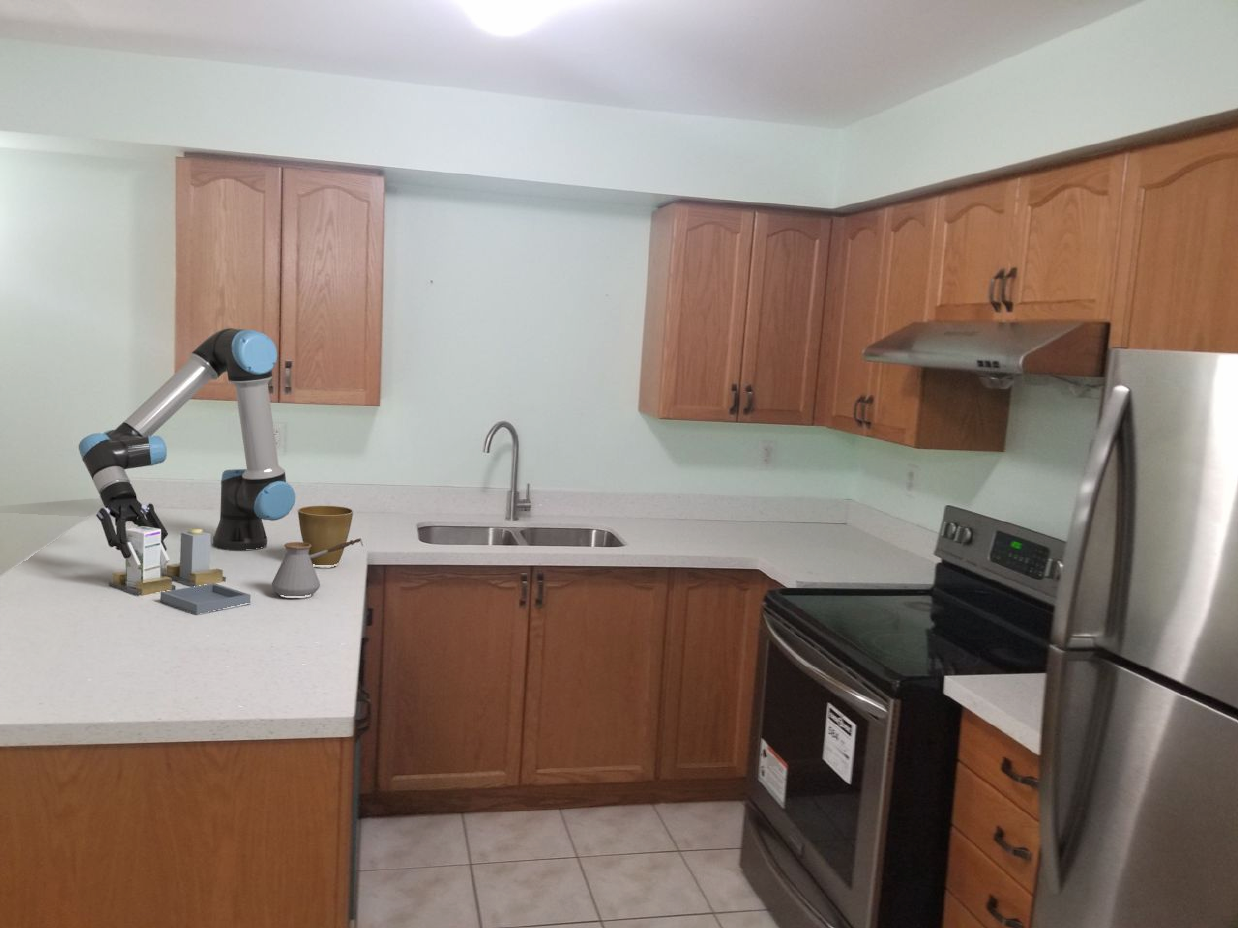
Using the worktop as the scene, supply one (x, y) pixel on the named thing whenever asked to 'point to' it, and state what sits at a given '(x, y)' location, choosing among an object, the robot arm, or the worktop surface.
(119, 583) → the tan block holder
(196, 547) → the grey block
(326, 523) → the plant pot
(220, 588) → the tray
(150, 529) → the syrup box
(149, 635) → the worktop surface
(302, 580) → the coffee pot
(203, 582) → the clips
